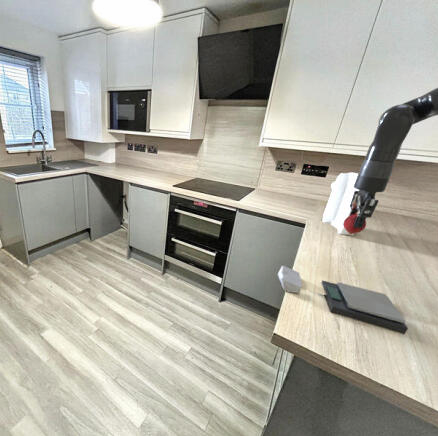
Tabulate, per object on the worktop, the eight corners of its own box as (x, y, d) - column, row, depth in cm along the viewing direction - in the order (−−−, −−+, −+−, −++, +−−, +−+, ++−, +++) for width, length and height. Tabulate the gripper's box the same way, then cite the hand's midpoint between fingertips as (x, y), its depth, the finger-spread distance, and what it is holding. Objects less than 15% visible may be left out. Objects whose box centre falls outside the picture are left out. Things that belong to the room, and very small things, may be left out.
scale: (381, 301, 72) (385, 294, 71) (404, 334, 60) (409, 326, 60) (320, 285, 78) (322, 279, 78) (330, 312, 67) (333, 305, 66)
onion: (364, 238, 78) (374, 216, 75) (343, 235, 80) (352, 213, 77) (357, 232, 83) (365, 211, 80) (337, 229, 85) (345, 208, 82)
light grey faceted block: (291, 301, 75) (302, 292, 71) (272, 290, 77) (281, 281, 73) (294, 278, 82) (304, 269, 78) (276, 269, 84) (285, 260, 80)
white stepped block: (367, 240, 117) (393, 180, 106) (342, 237, 118) (365, 178, 108) (337, 221, 142) (356, 171, 131) (316, 218, 143) (333, 169, 133)
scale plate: (384, 296, 71) (385, 294, 71) (404, 323, 61) (405, 320, 60) (336, 284, 75) (337, 281, 75) (347, 307, 65) (348, 304, 65)
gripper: (400, 180, 66) (376, 234, 72) (379, 173, 79) (361, 220, 85) (366, 177, 69) (346, 229, 75) (352, 170, 82) (335, 216, 88)
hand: (354, 224), depth 80 cm, fingers closed on onion, 6 cm apart
